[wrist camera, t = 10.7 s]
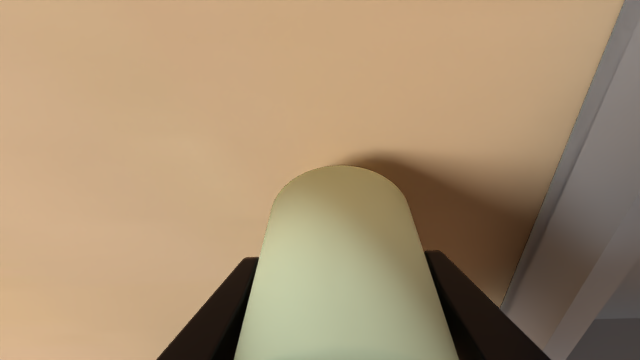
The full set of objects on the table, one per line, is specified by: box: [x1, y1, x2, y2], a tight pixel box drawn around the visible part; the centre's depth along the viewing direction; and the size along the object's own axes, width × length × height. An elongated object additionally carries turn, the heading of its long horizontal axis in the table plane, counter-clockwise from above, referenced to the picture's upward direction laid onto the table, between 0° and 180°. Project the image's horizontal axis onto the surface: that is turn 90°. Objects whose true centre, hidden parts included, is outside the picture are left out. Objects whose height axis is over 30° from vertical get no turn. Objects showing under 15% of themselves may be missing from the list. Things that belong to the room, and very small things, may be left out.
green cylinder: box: [234, 165, 459, 360], centre depth 8 cm, size 4×4×5 cm
